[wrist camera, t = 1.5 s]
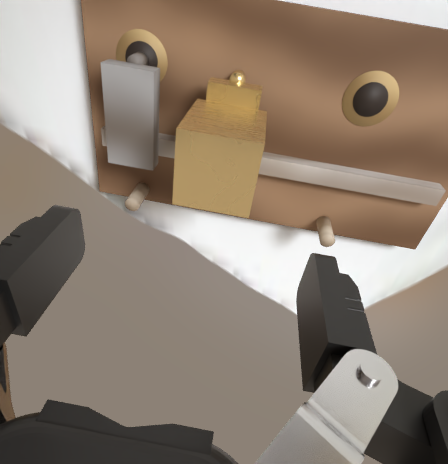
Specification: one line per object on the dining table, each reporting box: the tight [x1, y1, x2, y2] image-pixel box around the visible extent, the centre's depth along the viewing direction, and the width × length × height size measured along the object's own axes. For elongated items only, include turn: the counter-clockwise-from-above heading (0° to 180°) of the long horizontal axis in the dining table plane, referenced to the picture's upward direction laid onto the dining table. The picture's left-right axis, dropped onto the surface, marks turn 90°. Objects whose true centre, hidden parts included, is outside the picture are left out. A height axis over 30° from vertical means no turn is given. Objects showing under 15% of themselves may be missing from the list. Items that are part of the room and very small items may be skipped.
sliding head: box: [172, 70, 267, 218], centre depth 19 cm, size 6×4×7 cm, turn 172°
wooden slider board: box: [81, 0, 448, 249], centre depth 22 cm, size 14×25×4 cm, turn 82°
